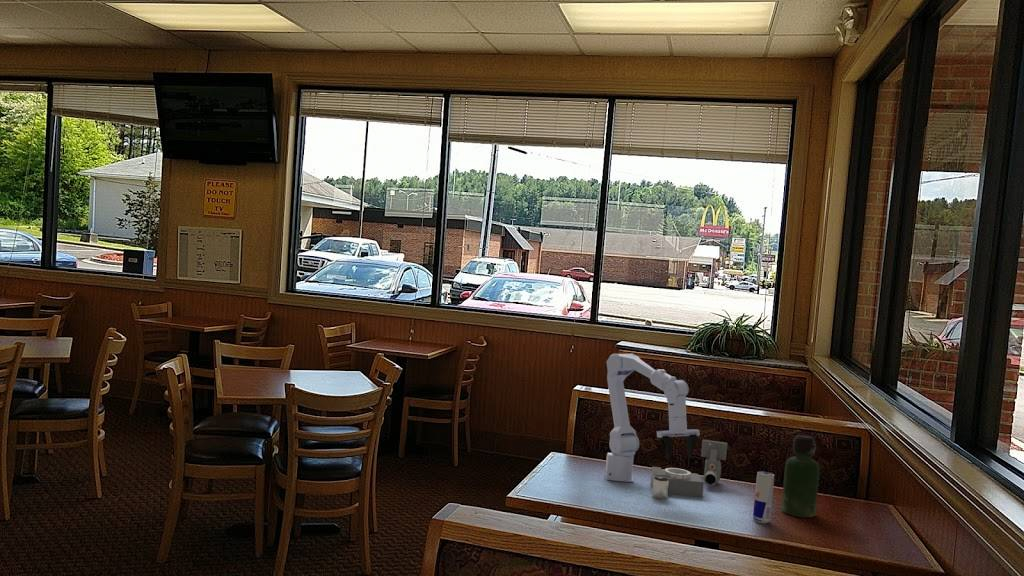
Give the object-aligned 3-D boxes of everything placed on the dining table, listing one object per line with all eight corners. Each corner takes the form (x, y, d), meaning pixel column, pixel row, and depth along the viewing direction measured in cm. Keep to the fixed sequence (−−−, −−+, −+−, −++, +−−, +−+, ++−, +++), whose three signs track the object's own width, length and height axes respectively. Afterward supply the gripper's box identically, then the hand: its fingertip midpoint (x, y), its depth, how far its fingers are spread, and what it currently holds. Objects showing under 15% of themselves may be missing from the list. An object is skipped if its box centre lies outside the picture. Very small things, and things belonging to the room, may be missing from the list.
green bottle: (780, 514, 257) (787, 436, 257) (781, 506, 267) (788, 431, 266) (815, 520, 254) (822, 441, 253) (815, 512, 264) (822, 436, 263)
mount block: (654, 492, 271) (656, 473, 271) (650, 483, 282) (652, 465, 282) (702, 497, 270) (704, 477, 270) (696, 488, 281) (698, 469, 281)
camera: (696, 486, 283) (700, 444, 283) (699, 479, 294) (702, 438, 294) (722, 490, 281) (726, 448, 280) (723, 482, 292) (727, 441, 292)
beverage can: (757, 517, 252) (762, 470, 251) (772, 522, 248) (777, 474, 248) (749, 520, 248) (754, 472, 248) (764, 525, 245) (769, 476, 244)
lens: (652, 498, 263) (654, 478, 263) (651, 494, 268) (652, 474, 268) (668, 500, 263) (670, 480, 263) (666, 495, 268) (667, 476, 268)
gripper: (662, 418, 262) (664, 461, 260) (703, 416, 265) (705, 458, 264) (653, 417, 268) (655, 459, 267) (693, 415, 272) (694, 456, 271)
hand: (679, 458), depth 266 cm, fingers open, 7 cm apart
